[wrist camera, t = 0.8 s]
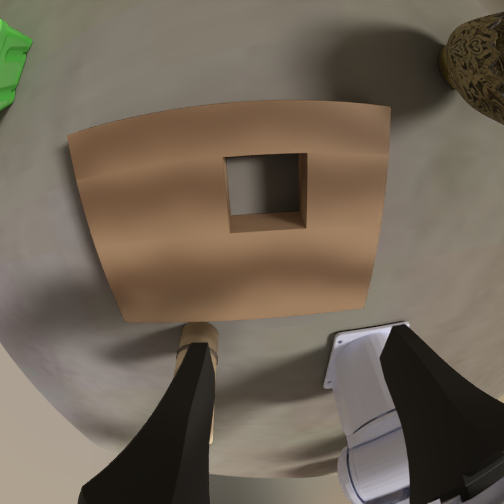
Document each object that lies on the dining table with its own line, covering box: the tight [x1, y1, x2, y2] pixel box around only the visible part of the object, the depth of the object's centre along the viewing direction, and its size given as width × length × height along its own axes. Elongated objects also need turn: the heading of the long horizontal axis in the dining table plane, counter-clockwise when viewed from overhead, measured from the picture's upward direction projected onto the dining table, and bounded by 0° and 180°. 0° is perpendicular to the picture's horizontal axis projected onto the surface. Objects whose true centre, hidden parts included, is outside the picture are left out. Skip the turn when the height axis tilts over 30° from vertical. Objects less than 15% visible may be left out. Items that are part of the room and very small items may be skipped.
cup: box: [439, 12, 504, 125], centre depth 9 cm, size 8×7×8 cm
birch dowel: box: [174, 322, 218, 444], centre depth 20 cm, size 3×3×10 cm
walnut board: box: [67, 100, 391, 323], centre depth 17 cm, size 14×18×2 cm
